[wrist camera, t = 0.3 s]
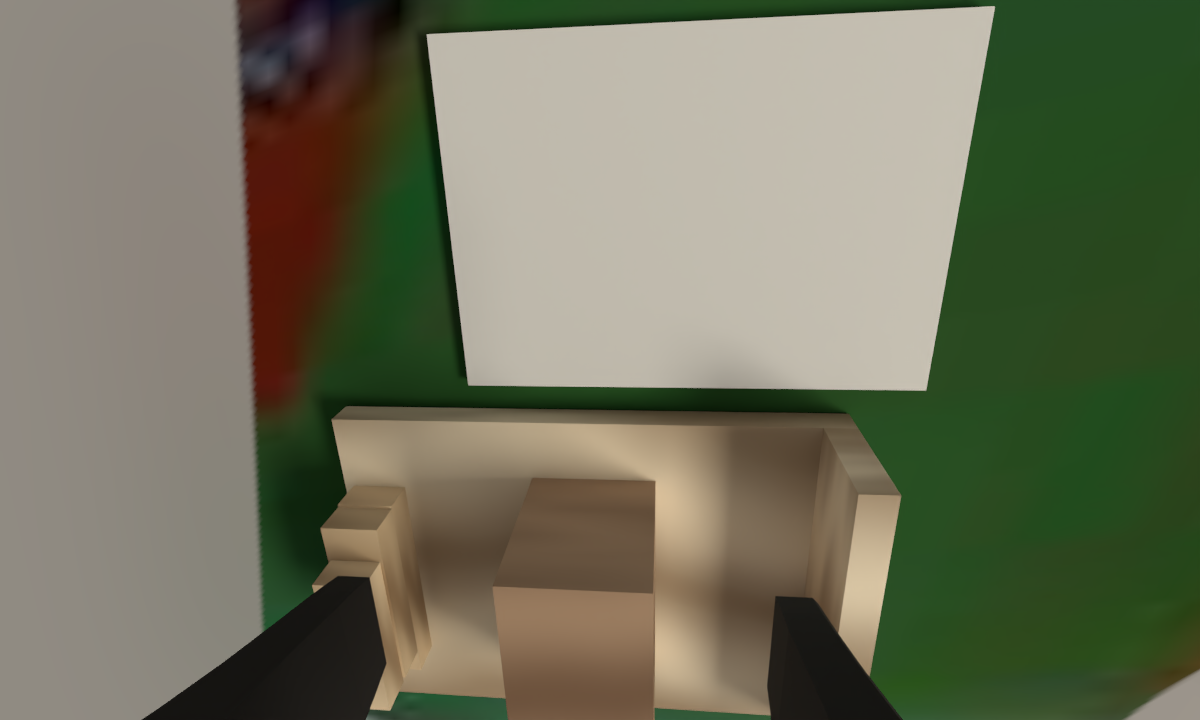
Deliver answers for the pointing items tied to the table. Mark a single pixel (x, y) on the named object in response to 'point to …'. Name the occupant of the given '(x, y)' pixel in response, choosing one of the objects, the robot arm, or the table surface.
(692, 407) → the table surface
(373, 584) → the offcut stack
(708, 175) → the grey mat
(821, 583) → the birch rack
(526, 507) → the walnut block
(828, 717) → the robot arm
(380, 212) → the table surface
